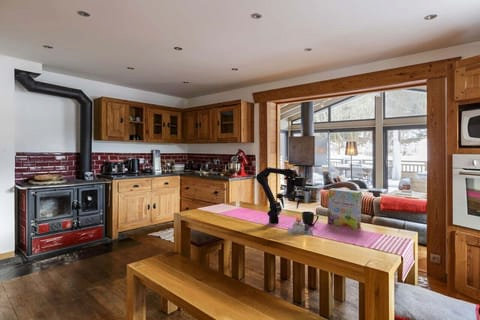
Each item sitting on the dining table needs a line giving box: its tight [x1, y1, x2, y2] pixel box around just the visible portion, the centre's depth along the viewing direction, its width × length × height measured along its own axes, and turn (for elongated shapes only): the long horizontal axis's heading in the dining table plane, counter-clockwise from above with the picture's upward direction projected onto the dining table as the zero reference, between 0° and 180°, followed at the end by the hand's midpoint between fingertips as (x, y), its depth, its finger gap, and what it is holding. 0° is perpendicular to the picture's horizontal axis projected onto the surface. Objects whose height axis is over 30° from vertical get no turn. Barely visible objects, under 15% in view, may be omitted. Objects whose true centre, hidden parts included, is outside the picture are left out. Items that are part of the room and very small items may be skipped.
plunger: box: [295, 217, 302, 224], centre depth 176 cm, size 5×5×8 cm
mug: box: [301, 211, 320, 227], centre depth 191 cm, size 8×12×10 cm
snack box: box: [327, 187, 363, 230], centre depth 195 cm, size 22×9×26 cm, turn 50°
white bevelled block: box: [291, 221, 309, 233], centre depth 175 cm, size 10×8×5 cm
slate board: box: [286, 227, 314, 237], centre depth 175 cm, size 16×13×1 cm
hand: (290, 208), depth 188 cm, fingers open, 9 cm apart
